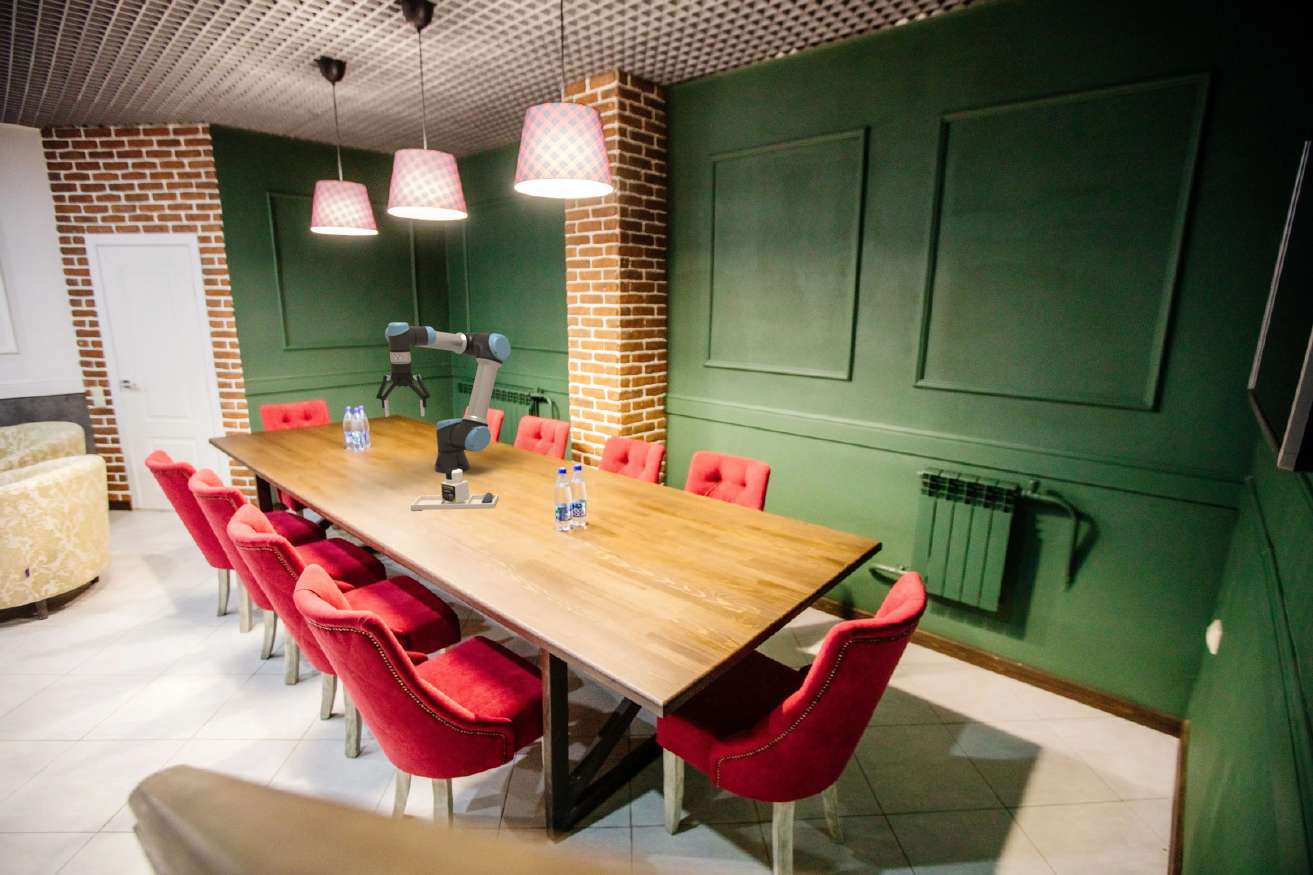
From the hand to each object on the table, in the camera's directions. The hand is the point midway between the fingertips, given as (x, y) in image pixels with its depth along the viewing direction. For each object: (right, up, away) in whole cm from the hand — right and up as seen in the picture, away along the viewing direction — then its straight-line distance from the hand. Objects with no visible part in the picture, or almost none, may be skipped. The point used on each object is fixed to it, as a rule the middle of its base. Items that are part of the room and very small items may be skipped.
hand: (405, 416), depth 252 cm
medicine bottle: (+23, -32, -10) cm, 41 cm away
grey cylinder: (+34, -33, -9) cm, 48 cm away
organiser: (+23, -34, -10) cm, 43 cm away
